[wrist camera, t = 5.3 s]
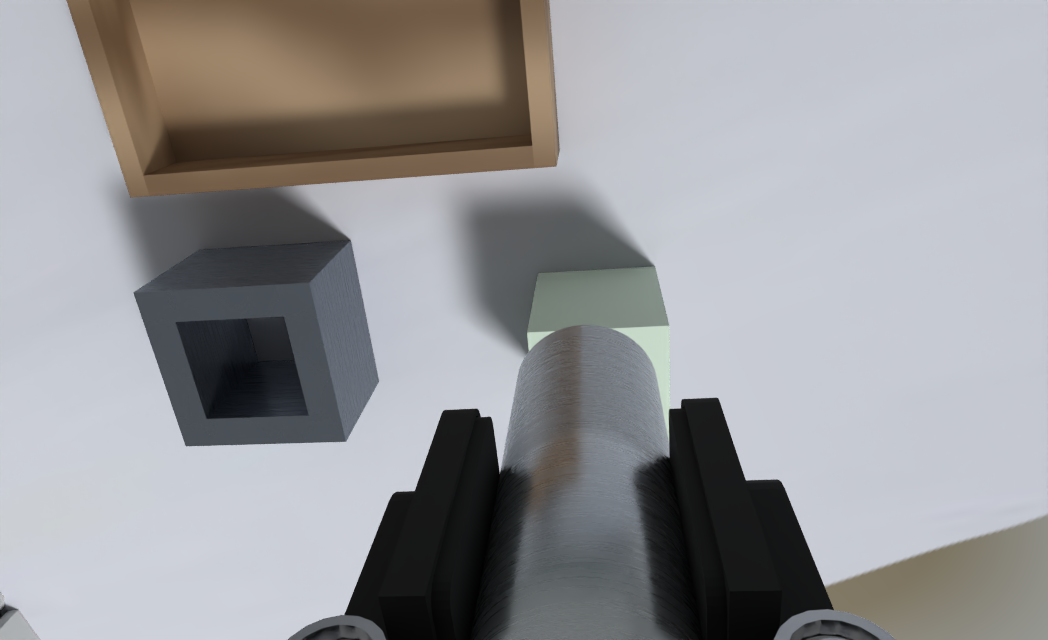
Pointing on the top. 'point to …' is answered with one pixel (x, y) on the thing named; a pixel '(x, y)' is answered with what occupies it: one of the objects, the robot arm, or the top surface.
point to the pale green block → (607, 311)
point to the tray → (319, 89)
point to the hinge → (15, 625)
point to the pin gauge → (586, 502)
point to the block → (228, 353)
